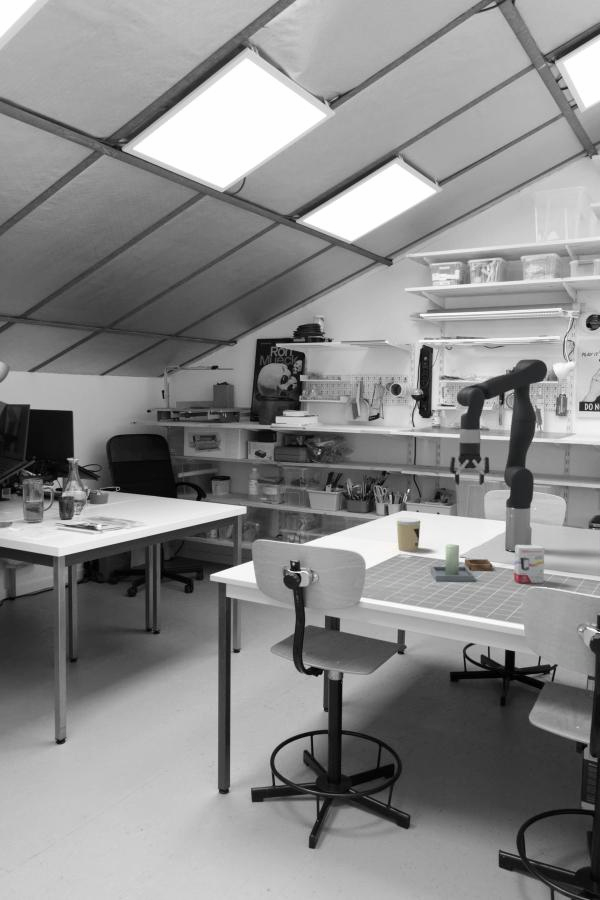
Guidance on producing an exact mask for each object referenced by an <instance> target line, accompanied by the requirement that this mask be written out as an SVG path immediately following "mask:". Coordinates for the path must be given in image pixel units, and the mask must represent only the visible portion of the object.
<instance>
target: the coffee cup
mask: <svg viewBox="0 0 600 900" xmlns="http://www.w3.org/2000/svg"><path fill="white" fill-rule="evenodd" d="M396 525H397V526H396V527H397V544H398V545H397V547H398V551H401V552H408V553H409V552H410V553H412V552H417V551H418V550H419V546H420V545H419V542H420V533H421V532H420V529H421V528H420V527H421V520H420V519H418V518H413V517H401V518H398V519H397V520H396Z"/></svg>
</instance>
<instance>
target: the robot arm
mask: <svg viewBox="0 0 600 900" xmlns="http://www.w3.org/2000/svg"><path fill="white" fill-rule="evenodd" d="M547 375H548V367H547V364H546V363H545V362H544V361H543V360H540V359H537V358H535V359H528V358H527V359H521V360H518V362H517V363H516V364H515V367H514V372H510V373H505V374H501V375H498V376H494V377H491V378H489V379H487V380H484V381H482V382H480V383H477V384H473V385H469V386H464V387H463V388H462V389H460V390H459V391H458V393H457V394H456V401H457V403H458V405H460V406H462V407H466V408H467V410H466V412H465V413H463V414H461V416H460V432H459V455H458V456H456V457H455V456H451V457H450V463H449V464H450V465H449V473H451V474H453V475H454V483H455V484H456V485H460V473H461V472H462V471H463V470H464V469H465V470H466V469H467V470H468V469H471V470H473V469H476V470H477V471H478V472H479V477H478V478H479V480H478V481H479V482H478V484H479V485H480V486H481V485H483V484H484V483H485V475H486V474H490V458H489V457H488V456H484V457H481V442H482V441H481V416H482V413H483V409H484V406H485V401H486V400H491V399H494V398H496V397H499V396H501V395H502V394H504V393H507V392H510V391H513V402H512V403H513V404H512V414H511V423H510V434H509V445H508V455H507V459H506V465H505V469H504V474H503V475H504V476H503V480H504V483H505V484H506V486H507V487H508V488H510V490H509V491H510V492H509V497H508V498H507V499H506V501H505V502H506V503H505V542H504V549H505V550H506V549H507V550H511V551H515V546H516V545H532V534H533V533H532V530H533V529H532V527H531V504H532V501H533V499H534V483H535V482H534V481H535V479H534V475H533V473H532V471H531V470H530V469H529V468H526V462H527V454H528V451H529V448H530V446H531V444H532V442H533V440H534V437H535V433H536V425H537V413H536V411H535V408H534V406H533V403H532V402H531V401H532V400H531V397H530V387H531V385H533V384H539V383H541V382H543V381H544V379H545V378H546V377H547ZM481 461H482V463H483V464H484V469H482V467H481V466H480V463H481ZM457 462H459V465H458V466H457V468H456V469H455V464H456V463H457ZM507 550H506V551H507ZM511 551H510V552H511Z"/></svg>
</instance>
